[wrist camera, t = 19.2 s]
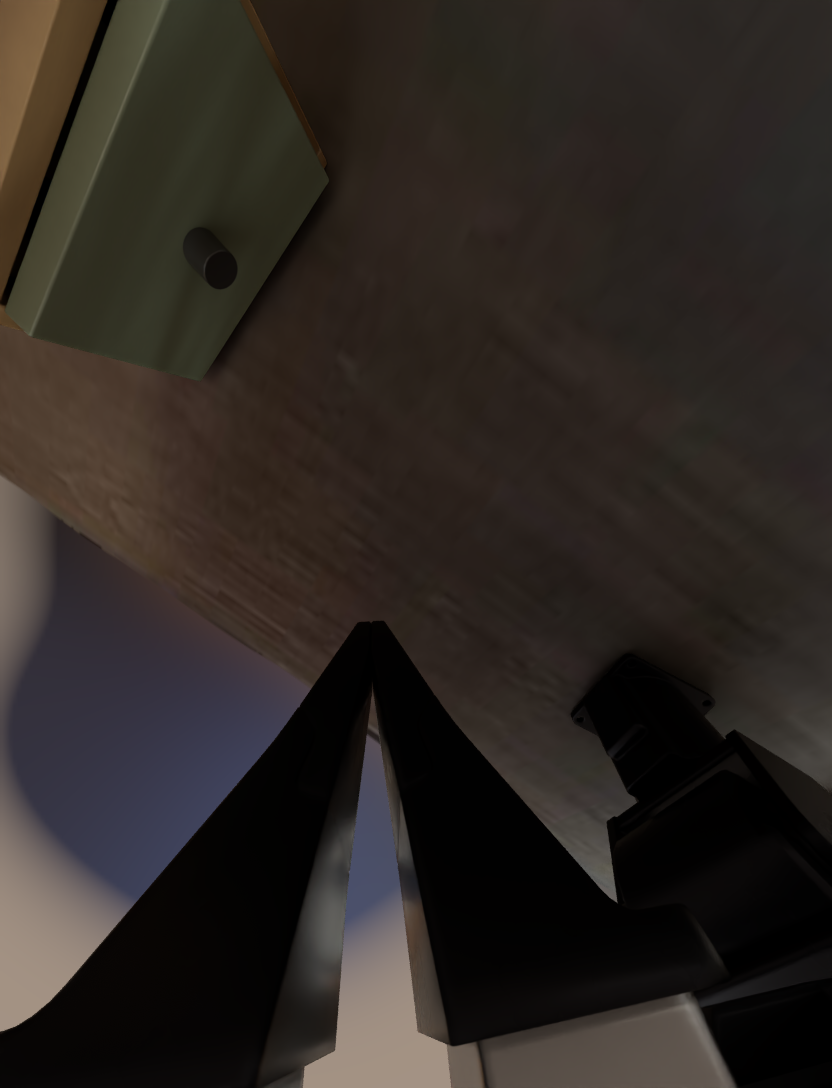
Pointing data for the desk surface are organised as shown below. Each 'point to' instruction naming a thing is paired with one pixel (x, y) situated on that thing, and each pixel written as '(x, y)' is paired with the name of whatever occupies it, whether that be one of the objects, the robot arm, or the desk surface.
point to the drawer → (167, 191)
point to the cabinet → (53, 104)
